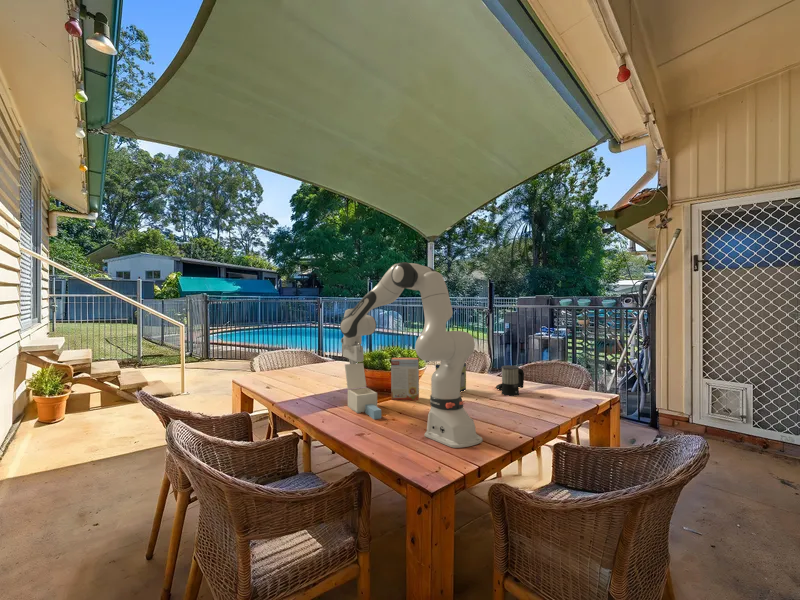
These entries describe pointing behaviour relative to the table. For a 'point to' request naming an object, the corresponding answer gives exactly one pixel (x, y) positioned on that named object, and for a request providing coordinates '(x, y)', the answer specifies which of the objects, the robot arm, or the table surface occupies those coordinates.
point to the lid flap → (355, 375)
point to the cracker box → (405, 378)
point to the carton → (361, 399)
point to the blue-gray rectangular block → (373, 411)
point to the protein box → (463, 377)
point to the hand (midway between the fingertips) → (352, 368)
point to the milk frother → (511, 380)
